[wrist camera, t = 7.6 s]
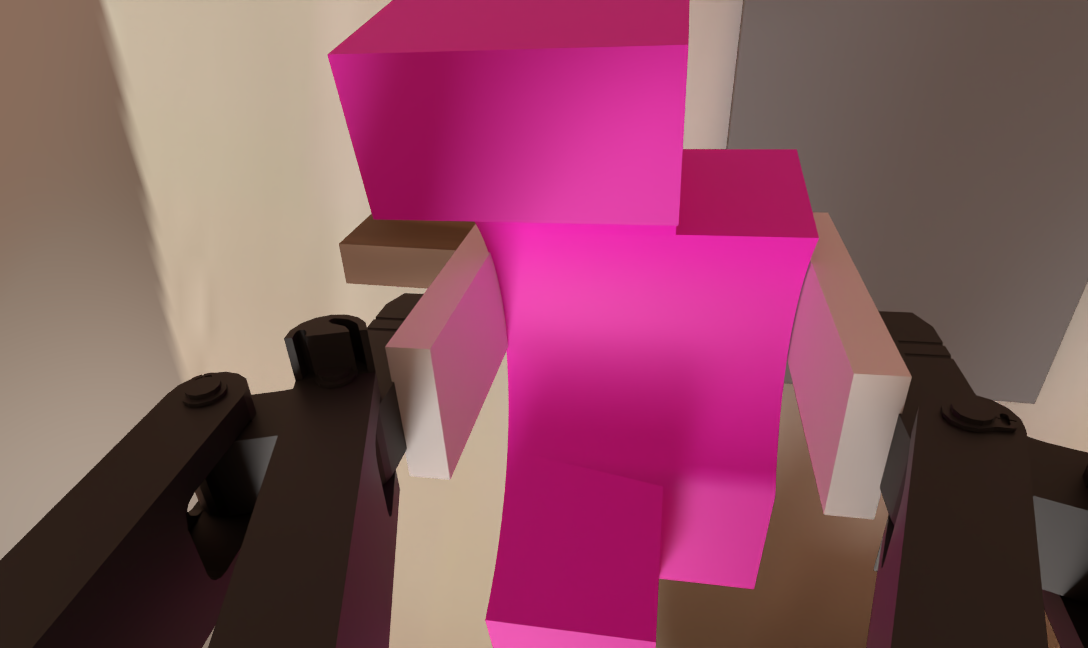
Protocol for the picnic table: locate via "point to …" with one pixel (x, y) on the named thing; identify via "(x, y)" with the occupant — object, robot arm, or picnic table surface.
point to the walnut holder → (400, 251)
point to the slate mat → (938, 159)
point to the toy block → (597, 290)
